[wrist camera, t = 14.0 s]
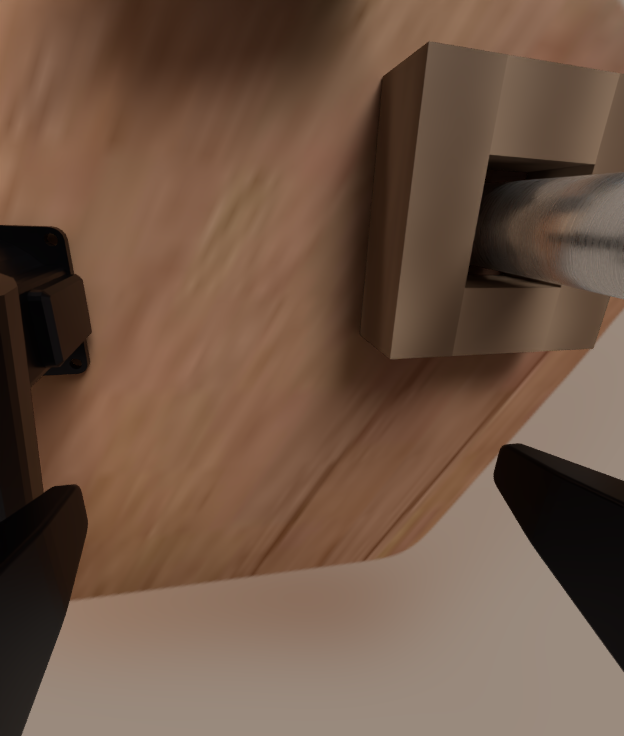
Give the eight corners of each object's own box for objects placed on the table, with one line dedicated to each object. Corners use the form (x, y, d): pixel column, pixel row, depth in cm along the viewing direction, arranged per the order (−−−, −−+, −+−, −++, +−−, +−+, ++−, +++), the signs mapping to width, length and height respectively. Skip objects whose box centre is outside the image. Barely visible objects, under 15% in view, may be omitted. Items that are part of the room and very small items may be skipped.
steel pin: (462, 278, 22) (703, 348, 11) (425, 222, 20) (669, 241, 9) (517, 227, 22) (822, 248, 11) (484, 165, 20) (809, 118, 9)
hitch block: (359, 334, 22) (390, 359, 18) (382, 76, 17) (429, 41, 14) (536, 328, 25) (593, 348, 21) (595, 105, 20) (680, 83, 17)
